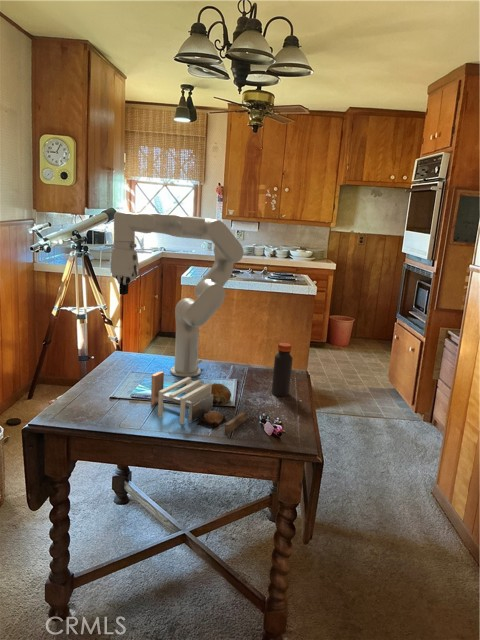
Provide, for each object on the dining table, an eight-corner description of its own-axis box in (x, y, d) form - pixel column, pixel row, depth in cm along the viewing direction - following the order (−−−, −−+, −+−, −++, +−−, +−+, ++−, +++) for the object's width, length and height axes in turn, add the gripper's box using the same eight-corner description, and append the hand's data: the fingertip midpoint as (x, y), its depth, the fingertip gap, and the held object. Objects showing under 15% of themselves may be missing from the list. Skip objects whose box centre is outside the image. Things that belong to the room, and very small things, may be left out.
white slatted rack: (187, 400, 173) (188, 376, 171) (210, 407, 168) (211, 383, 166) (157, 416, 158) (158, 391, 156) (182, 424, 154) (183, 398, 152)
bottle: (292, 394, 186) (297, 345, 181) (281, 398, 181) (286, 348, 176) (278, 388, 190) (283, 340, 185) (268, 392, 185) (272, 343, 180)
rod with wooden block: (166, 395, 175) (167, 368, 172) (212, 409, 166) (214, 380, 163) (143, 407, 163) (144, 378, 161) (191, 423, 154) (192, 392, 152)
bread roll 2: (206, 414, 164) (207, 404, 163) (229, 419, 161) (229, 409, 161) (192, 426, 154) (193, 415, 154) (216, 431, 152) (217, 421, 151)
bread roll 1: (232, 409, 177) (237, 388, 178) (221, 407, 167) (227, 385, 169) (208, 403, 181) (214, 382, 182) (197, 400, 171) (203, 379, 173)
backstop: (243, 418, 161) (244, 410, 161) (246, 419, 161) (247, 411, 160) (224, 433, 150) (224, 424, 149) (227, 434, 150) (228, 425, 149)
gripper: (146, 247, 177) (145, 295, 181) (115, 243, 183) (114, 290, 187) (134, 248, 170) (133, 298, 175) (101, 244, 176) (101, 292, 181)
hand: (123, 294), depth 181 cm, fingers closed
